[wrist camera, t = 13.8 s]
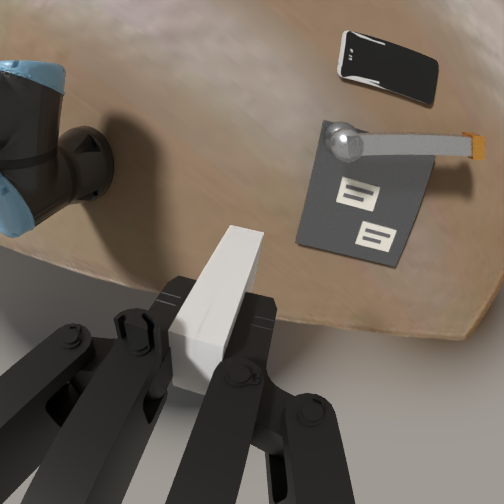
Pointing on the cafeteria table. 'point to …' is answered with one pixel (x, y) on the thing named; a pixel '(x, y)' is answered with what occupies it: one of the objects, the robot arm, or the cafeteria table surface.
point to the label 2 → (375, 236)
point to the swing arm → (405, 144)
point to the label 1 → (357, 194)
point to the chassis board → (350, 218)
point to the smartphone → (387, 66)
